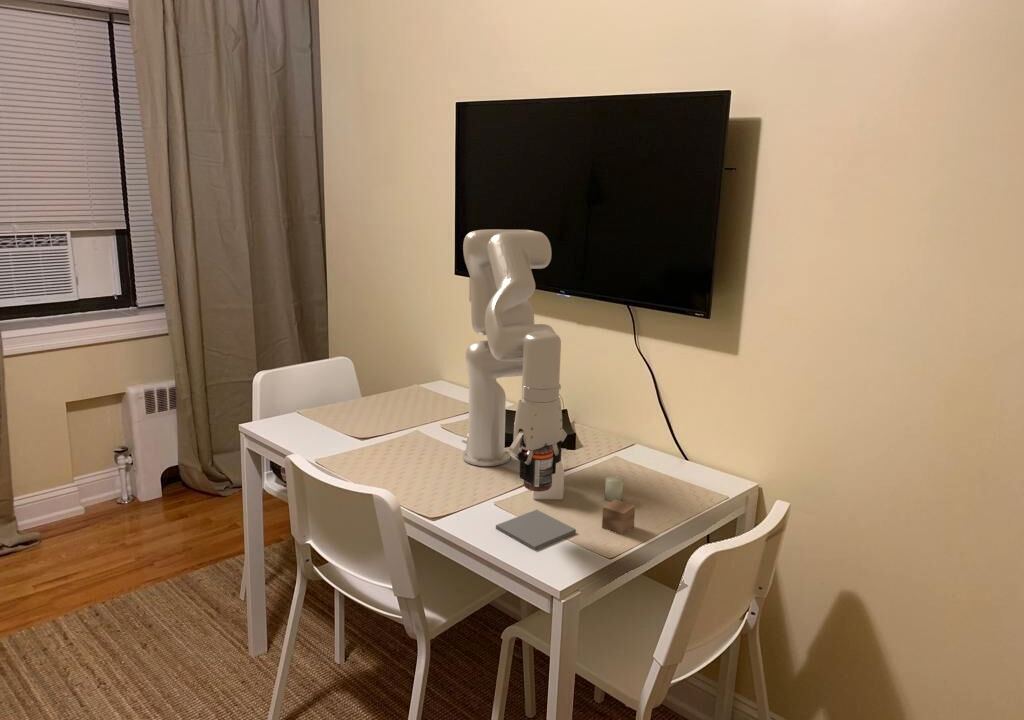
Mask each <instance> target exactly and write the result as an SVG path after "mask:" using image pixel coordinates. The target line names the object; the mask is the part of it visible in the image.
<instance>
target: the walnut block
mask: <svg viewBox="0 0 1024 720" xmlns="http://www.w3.org/2000/svg"><path fill="white" fill-rule="evenodd" d="M635 514H636V505H633V504H630V503H628V502H625V501H623V500H622V501H619V500H616V499H615V500H613V501H612V502H607V503H606V505H604V506H602V520H601V529H604V530H607V531H609V530H610V532H612V531H613V533H615V532H616V533H615V534H618V535H621V534H622V535H621V536H623V535H625V534H626V533H628V532H629V531H630V530H632V529H633V528H634V527H635V516H636V515H635ZM632 527H633V528H632ZM629 529H630V530H629ZM628 530H629V531H628ZM625 532H626V533H625Z"/></svg>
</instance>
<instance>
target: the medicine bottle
mask: <svg viewBox="0 0 1024 720" xmlns="http://www.w3.org/2000/svg"><path fill="white" fill-rule="evenodd" d="M564 485H565V470H564V466H563V462H562V448H561V447H560V448H559V453H558V455H556V473H555V474H552V486H551V488H550V489H548V490H546V491H541V492H538V491H531V497H532V499H533V500H550V501H551V500H560V501H561V500H563V499H564V487H565V486H564Z"/></svg>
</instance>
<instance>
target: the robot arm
mask: <svg viewBox="0 0 1024 720" xmlns="http://www.w3.org/2000/svg"><path fill="white" fill-rule="evenodd" d="M462 247H463V248H462V250H463V251H462V252H463V259H464V263H465V265H466V268H467V271H468V274H469V278H470V303H471V304H470V305H471V306H470V309H471V310H470V312H471V313H470V315H471V316H470V318H471V327H472V329H473V331H474V333H476V335H480V336H486V339H487V340H478V341H476V342H475V341H474V342H473V343H471V344H469V346H468V347H467V349H466V352H465V364H466V370H467V371H466V372H467V377H468V433H467V434H466V435H465V437H462V439H461V442H462V443H463V444H465V445H466V448H465V449H464V450H463V452H462V455H461V456H462V459H463V461H464V462H466V463H468V464H471V465H473V466H480V467H494V466H500V465H503V464H506V463H507V462H509V461H510V459H511V454H512V455H514V457H515V459H516V460H517V461H518V462H519V478H520V480H523V481H524V480H525V481H527V482H532V474H533V464H532V463H530V462H531V459H532V456H533V453H534V450H537V449H539V448H542V447H544V446H545V444H546V443H547V444H546V445H551V446H552V447H553V470H552V474H555V473H556V455H558V453H559V448H561V447H562V445H563V442H564V441H565V439H566V438H567V436H568V434H567V433H568V432H567V431H565V430H564V428H563V413H562V412H563V410H562V402H561V398H560V390H561V388H562V385H561V383H560V377H561V375H560V374H561V355H562V354H561V351H562V340H561V337H560V336H559V335H558V334H557V332H556V331H555V330H554V328H553V327H552V326H550V325H549V324H543V323H535V313H534V309H533V306H532V304H531V301H530V300H528V299H529V298H531V297H532V296H533V295H534V293H535V291H536V290H535V289H536V281H535V279H534V275H533V272H532V270H533V269H536V270H538V269H539V270H541V269H545V268H546V267H548V266H549V264H550V263H551V261H552V246H551V242H550V240H549V238H548V237H547V235H545V234H544V233H543V232H541V231H537V230H536V231H535V230H532V229H531V230H530V229H500V228H499V229H493V228H492V229H478V230H473V231H470V232H468V233H467V234H466V235H465V237H464V239H463V245H462ZM509 377H522V380H521V381H522V383H521V399H519V400H518V402H517V406H516V407H517V408H516V411H515V416H514V424H513V436H512V437H513V439H512V440H513V441H512V443H511V445H509V448H508V449H506V447H505V445H506V444H505V441H506V439H505V438H506V436H505V435H506V407H507V406H506V404H507V403H506V399H507V397H506V392H505V390H504V388H503V386H502V385H501V384H500V383H499V382H498V381H497V379H498V378H500V379H501V378H509ZM526 451H528V452H527V455H526V456H525V452H526Z"/></svg>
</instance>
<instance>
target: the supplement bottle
mask: <svg viewBox="0 0 1024 720" xmlns="http://www.w3.org/2000/svg"><path fill="white" fill-rule="evenodd" d="M546 444H547V443H546ZM546 444H545V446H544V447H542V448H539V449H537V450H534V453H533V456H532V459H531V462H530V463H532V464H533V474H532V482H527V481H525V480H523V486H524V488H525V489H527V490H528V491H531V492H532V491H538V492H541V491H546V490H548V489H550V488H551V486H552V470H553V447H552V446H551V445H546ZM527 452H528V451H526V452H525V456H526V455H527Z"/></svg>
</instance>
